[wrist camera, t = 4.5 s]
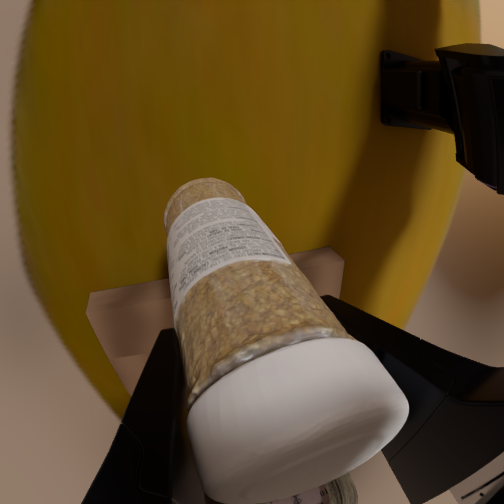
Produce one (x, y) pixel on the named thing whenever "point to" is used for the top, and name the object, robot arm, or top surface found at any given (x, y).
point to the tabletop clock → (325, 493)
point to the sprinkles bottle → (265, 358)
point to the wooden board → (161, 314)
